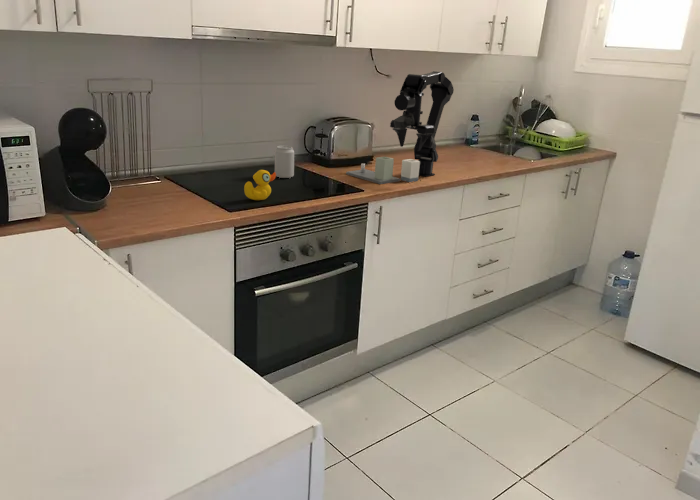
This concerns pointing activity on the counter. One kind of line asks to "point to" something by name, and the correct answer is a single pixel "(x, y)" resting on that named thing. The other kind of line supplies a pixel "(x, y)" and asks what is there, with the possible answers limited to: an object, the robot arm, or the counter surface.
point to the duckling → (259, 185)
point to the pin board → (377, 171)
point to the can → (284, 162)
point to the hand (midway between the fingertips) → (410, 148)
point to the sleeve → (410, 170)
